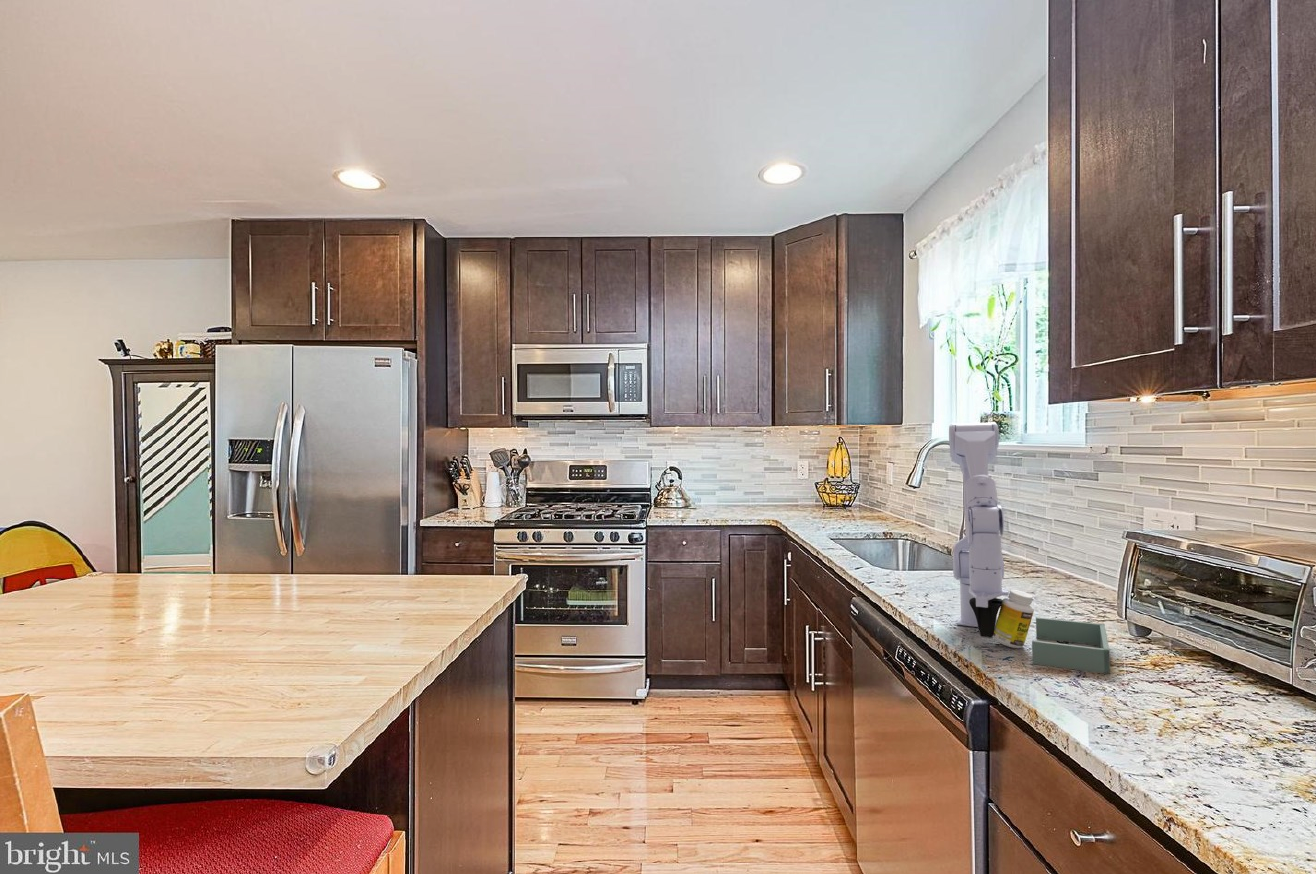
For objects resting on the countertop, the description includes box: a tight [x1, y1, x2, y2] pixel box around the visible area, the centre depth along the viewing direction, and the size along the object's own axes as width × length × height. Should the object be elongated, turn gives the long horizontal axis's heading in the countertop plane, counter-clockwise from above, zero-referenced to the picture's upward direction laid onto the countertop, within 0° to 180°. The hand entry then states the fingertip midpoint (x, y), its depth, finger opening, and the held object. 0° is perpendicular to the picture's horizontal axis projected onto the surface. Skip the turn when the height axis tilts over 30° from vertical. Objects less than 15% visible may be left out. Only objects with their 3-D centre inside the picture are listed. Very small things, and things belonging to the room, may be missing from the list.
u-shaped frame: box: [1031, 616, 1111, 675], centre depth 127 cm, size 19×12×4 cm, turn 149°
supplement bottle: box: [992, 589, 1035, 649], centre depth 131 cm, size 6×6×10 cm
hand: (986, 636), depth 134 cm, fingers closed, pressing on supplement bottle
